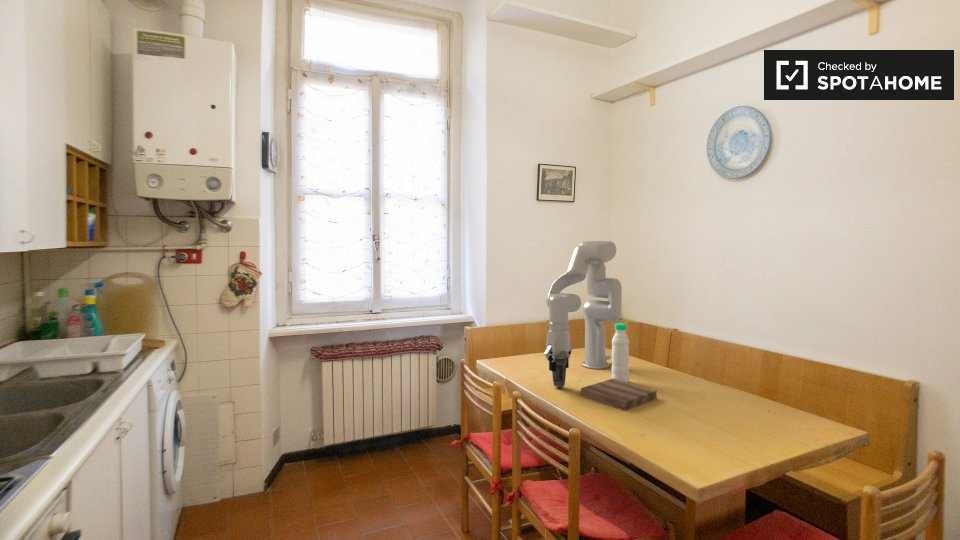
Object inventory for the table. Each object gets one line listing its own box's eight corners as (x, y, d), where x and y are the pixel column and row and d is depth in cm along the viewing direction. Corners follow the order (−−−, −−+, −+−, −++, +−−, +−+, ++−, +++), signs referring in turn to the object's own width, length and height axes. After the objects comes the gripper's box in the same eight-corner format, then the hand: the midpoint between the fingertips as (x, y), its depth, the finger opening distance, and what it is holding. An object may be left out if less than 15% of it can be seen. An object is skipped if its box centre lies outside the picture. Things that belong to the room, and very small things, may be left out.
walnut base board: (613, 385, 192) (613, 378, 192) (656, 398, 176) (656, 390, 176) (581, 395, 180) (581, 388, 180) (624, 410, 164) (624, 402, 164)
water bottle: (610, 383, 195) (611, 324, 193) (612, 378, 201) (612, 322, 199) (628, 385, 192) (628, 326, 190) (629, 380, 199) (630, 323, 197)
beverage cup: (567, 382, 194) (567, 335, 192) (568, 388, 186) (568, 339, 185) (549, 382, 194) (549, 335, 193) (550, 387, 187) (550, 339, 185)
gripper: (566, 322, 196) (566, 363, 198) (536, 328, 186) (537, 371, 188) (580, 324, 190) (580, 367, 192) (550, 331, 180) (550, 375, 182)
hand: (558, 368), depth 190 cm, fingers closed on beverage cup, 6 cm apart
